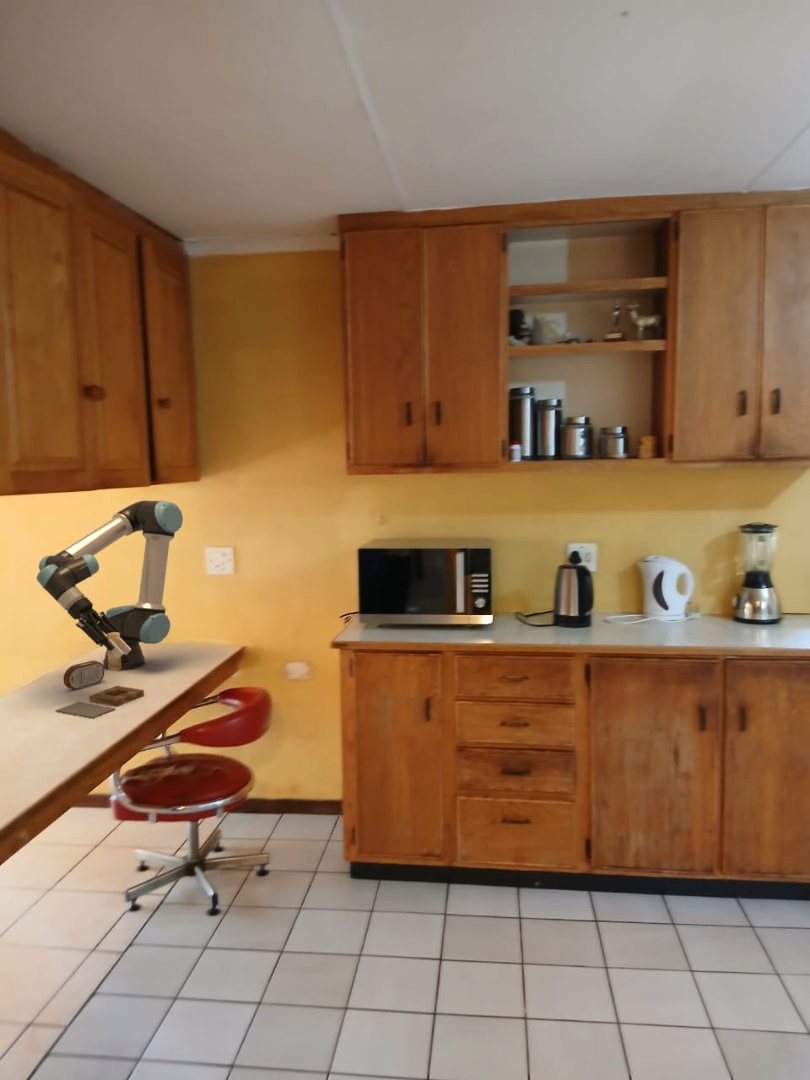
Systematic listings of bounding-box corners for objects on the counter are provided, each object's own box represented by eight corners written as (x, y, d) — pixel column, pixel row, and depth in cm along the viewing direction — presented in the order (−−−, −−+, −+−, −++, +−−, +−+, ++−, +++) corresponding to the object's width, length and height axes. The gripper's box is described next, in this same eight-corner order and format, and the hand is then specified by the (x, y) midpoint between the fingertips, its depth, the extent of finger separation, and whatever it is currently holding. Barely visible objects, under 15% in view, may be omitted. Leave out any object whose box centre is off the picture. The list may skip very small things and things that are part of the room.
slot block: (117, 691, 252) (117, 685, 252) (143, 695, 247) (143, 690, 247) (89, 701, 241) (89, 695, 241) (116, 706, 236) (116, 700, 236)
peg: (115, 666, 245) (113, 631, 244) (124, 668, 244) (122, 633, 242) (105, 670, 242) (103, 634, 240) (114, 671, 240) (112, 635, 239)
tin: (101, 680, 265) (100, 657, 264) (106, 681, 264) (105, 658, 263) (63, 691, 252) (62, 667, 252) (69, 692, 251) (67, 668, 250)
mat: (78, 703, 240) (78, 701, 239) (115, 709, 233) (115, 708, 233) (55, 711, 231) (55, 710, 231) (92, 718, 225) (92, 717, 225)
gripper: (84, 606, 251) (131, 654, 251) (53, 617, 235) (103, 669, 234) (97, 591, 250) (144, 640, 249) (67, 601, 233) (117, 653, 232)
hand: (124, 654), depth 241 cm, fingers closed on peg, 4 cm apart
